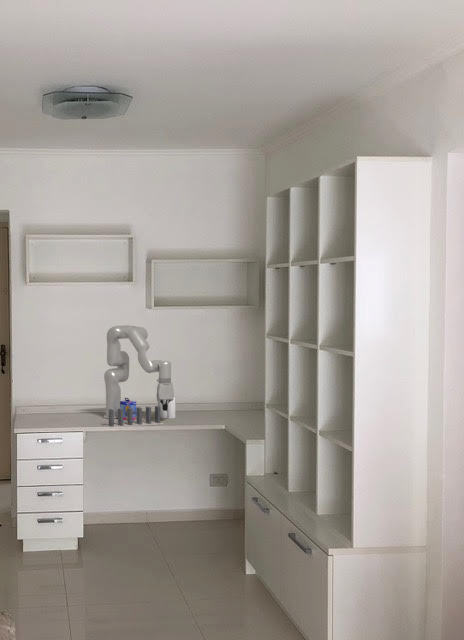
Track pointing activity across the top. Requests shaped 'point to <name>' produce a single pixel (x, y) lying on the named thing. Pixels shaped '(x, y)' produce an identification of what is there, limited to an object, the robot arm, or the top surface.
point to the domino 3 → (129, 416)
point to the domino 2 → (120, 416)
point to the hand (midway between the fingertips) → (165, 410)
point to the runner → (134, 424)
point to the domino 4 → (139, 415)
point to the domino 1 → (111, 417)
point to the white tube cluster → (168, 410)
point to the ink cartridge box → (128, 404)
